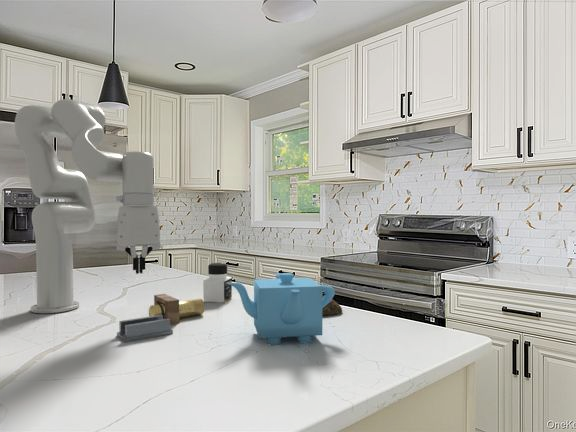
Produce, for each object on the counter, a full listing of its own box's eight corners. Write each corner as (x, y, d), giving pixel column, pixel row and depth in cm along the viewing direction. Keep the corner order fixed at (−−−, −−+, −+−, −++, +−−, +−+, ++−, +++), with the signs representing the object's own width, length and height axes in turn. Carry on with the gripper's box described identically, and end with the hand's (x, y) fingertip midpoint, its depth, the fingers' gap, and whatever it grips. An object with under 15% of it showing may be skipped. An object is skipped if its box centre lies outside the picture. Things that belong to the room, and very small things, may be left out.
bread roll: (303, 319, 116) (303, 300, 116) (293, 308, 129) (293, 292, 128) (348, 316, 119) (348, 298, 119) (334, 306, 131) (334, 290, 131)
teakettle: (340, 334, 101) (340, 272, 101) (296, 356, 86) (296, 283, 86) (275, 322, 112) (275, 266, 112) (226, 340, 97) (226, 275, 97)
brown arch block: (154, 317, 118) (154, 295, 118) (164, 315, 119) (164, 293, 119) (167, 324, 110) (167, 301, 110) (179, 323, 111) (179, 299, 111)
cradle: (116, 335, 100) (116, 321, 100) (162, 327, 107) (162, 314, 107) (124, 342, 95) (124, 327, 95) (172, 333, 102) (172, 319, 102)
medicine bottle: (224, 303, 135) (224, 264, 135) (203, 302, 136) (202, 264, 136) (232, 298, 142) (231, 262, 142) (211, 297, 143) (211, 261, 143)
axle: (154, 325, 110) (156, 309, 110) (148, 318, 114) (149, 302, 113) (203, 316, 119) (205, 301, 119) (196, 311, 123) (197, 296, 122)
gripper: (105, 200, 104) (106, 276, 104) (170, 200, 109) (170, 273, 109) (107, 201, 111) (108, 272, 111) (167, 201, 116) (168, 269, 116)
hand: (139, 272), depth 110 cm, fingers closed
